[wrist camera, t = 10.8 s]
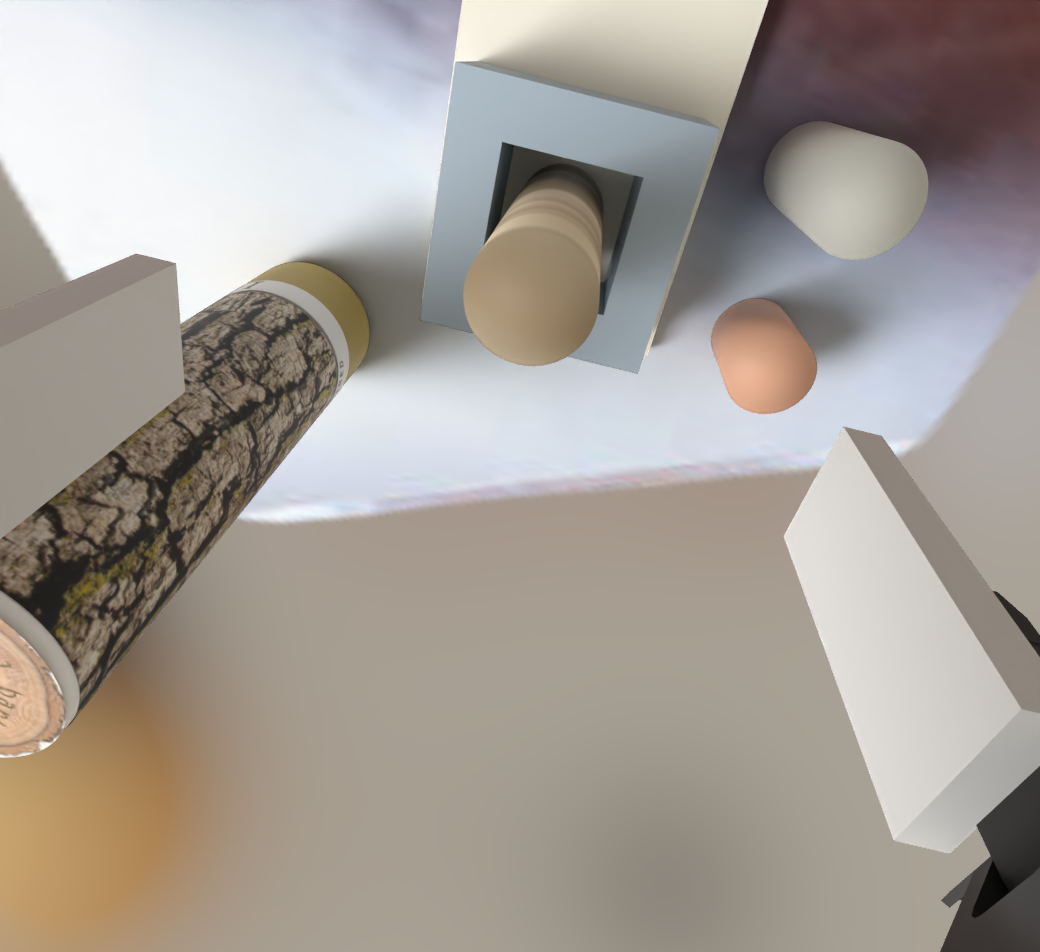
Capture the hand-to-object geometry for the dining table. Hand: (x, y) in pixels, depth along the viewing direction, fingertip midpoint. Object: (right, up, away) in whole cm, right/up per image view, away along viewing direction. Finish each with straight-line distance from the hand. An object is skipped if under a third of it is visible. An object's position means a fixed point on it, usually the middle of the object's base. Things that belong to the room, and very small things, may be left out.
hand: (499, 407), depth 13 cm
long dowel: (+2, +11, +18) cm, 21 cm away
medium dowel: (+14, +13, +17) cm, 25 cm away
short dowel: (+12, +6, +22) cm, 26 cm away
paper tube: (-11, +7, +24) cm, 27 cm away
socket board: (+3, +14, +18) cm, 23 cm away
